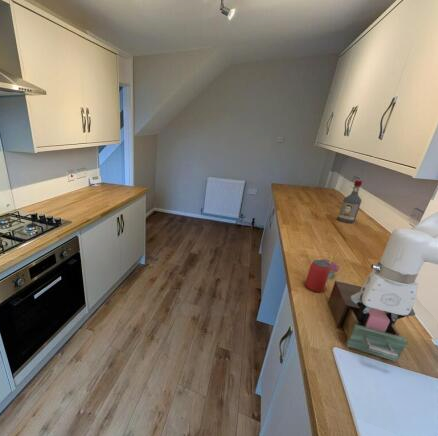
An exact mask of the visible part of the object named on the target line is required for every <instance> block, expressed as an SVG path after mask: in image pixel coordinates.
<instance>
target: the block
mask: <svg viewBox="0 0 438 436" xmlns="http://www.w3.org/2000/svg"><path fill="white" fill-rule="evenodd" d="M368 314H369V317H368V319H367V322H366V324H365V327H368V328H371V329H375V330H379V331H382V332H385V331H386V329H387V327H388V325H389V322H390V320H389V318H388V317H387V315H386V313H385V312H384V311H381V310H377V309H373V308H372V309H371V310H370V311H369V312H368Z"/></svg>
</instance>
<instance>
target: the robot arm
mask: <svg viewBox="0 0 438 436" xmlns="http://www.w3.org/2000/svg"><path fill="white" fill-rule="evenodd" d="M424 263H431V264H435V265H438V211H436V212H434V213H433V214H431V215H429V216H427V217H426V218H424V219H423V220H421V221H419V222H418V223H416V224H415V225H414V226H412V227H411V228H396V229H394V230H393V231H391V234H390V236H389V238H388V241H387V243H386V246H385V248H384V250H383V253H382V255H381V258H380V260H379V261H378V262H377V264H371V266H370V269H371V270H373V271H372V272H370V274H369V275H368V276H367V278H366V279H365V281H364V283H363V284H362V286H361V287H362V288H361V290H360V292H358V293H356V294H354V295H352V296H350V298H351V300H352V301H353V302H354V303H356V304H357V305H358V306H359V308H360V309H361V310H360V313H359V315H358V319H359V320H360V321H361V323H362V325H365V324H366V322H367V319H368V317H369V314H368V312H369V311H370V310H371V309H372V308H374V309H378V310H382V311H386V312H388V313H387V314H386V315H387V317H388V318H389V320H390V322H389V325H388V327H387V329H386V331H388V329H389V328H390V327H391V325H392V323H393V321H396V322H397V321H398V320H400V319H403V318H405V317H412V316H413V317H414V316H416V312H415V310H414V308H413V307H414V304H415V301H416V298H417V294H418V286H419V284H418V282H416V279H417V277H418V276H419V273H420V271H421V269H422V267H423V265H424ZM361 298H362V302H363V303H362V302H361V301H360V300H359V299H361Z"/></svg>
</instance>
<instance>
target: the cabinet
mask: <svg viewBox="0 0 438 436" xmlns="http://www.w3.org/2000/svg"><path fill="white" fill-rule="evenodd" d="M361 288H362V286H361V285H356V284H351V283H346V282H343V281H337V280H335V281H334V283H333V287H332V289H331V292H330V295H329V298H328V300H327V302H328V305H329V308H330V311H331V315H332V318H333V320H334V323H335V326H336V328H337V329H340V330H344V328H343V325H342V322H343V319H344V316H345V314H346V311H347V309H348V308H352V309H356V310H361V309H360V308H359V306H358V305H357V304H356V303H354V302H353V301H352V300H351V298H350V296H352V295H354V294H356V293H358V292H360V290H361ZM359 300H360V301H361V302H362V298H361V299H359ZM362 303H363V302H362ZM373 309H374V308H373ZM377 310H378V309H377ZM381 311H382V310H381ZM384 312H385V313H386V314H387V313H388V312H386V311H384ZM396 322H397V321H393V324H394V325H395V324H396Z"/></svg>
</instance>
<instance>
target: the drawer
mask: <svg viewBox="0 0 438 436" xmlns="http://www.w3.org/2000/svg"><path fill="white" fill-rule="evenodd" d="M359 313H360V310H356V309H352V308H348V309H347V311H346V314H345V316H344V319H343V322H342V325H343V328H344V333H345V336H346V338H347V339H346V342H345V344H346V347H348V348H352V349H354V350H357V351H361V352H364V353H368V354H371V355H374V356H377V357H381V358H382V359H383V358H384V359H387V360H390V361H393V362H398V360H399V358H400V357H401V355H402V353H403V352H404V349H405V347H406V345H407V344H408V339H407V338H406V337H404V336H401V334H400V332H399V331H398V329H397V327H396V326H395V324H393V323H392V325H391V327H390V328H389V329H388V331H385V332H382V331H379V330H375V329H371V328H368V327H365V325H362V323H361V321H360V320H359V319H358V315H359Z"/></svg>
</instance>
